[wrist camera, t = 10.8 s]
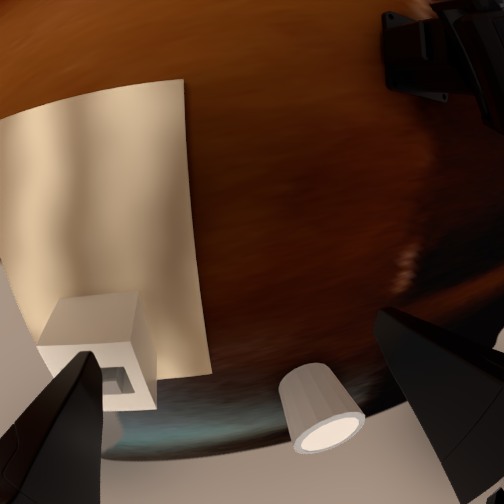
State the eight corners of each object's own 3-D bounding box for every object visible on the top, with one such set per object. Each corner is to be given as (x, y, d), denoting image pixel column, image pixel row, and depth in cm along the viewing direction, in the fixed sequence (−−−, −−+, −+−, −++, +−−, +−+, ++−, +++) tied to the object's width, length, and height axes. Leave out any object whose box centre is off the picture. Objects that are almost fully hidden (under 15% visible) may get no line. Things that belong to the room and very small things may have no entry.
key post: (125, 322, 19) (116, 381, 14) (129, 335, 20) (122, 394, 15) (87, 325, 19) (70, 381, 14) (92, 338, 19) (78, 394, 14)
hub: (139, 290, 19) (130, 343, 14) (157, 357, 21) (156, 411, 17) (59, 298, 17) (34, 348, 13) (86, 361, 20) (74, 412, 15)
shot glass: (304, 407, 30) (326, 456, 24) (258, 394, 28) (277, 452, 21) (348, 368, 29) (379, 416, 23) (305, 349, 26) (336, 407, 20)
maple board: (183, 82, 15) (183, 79, 14) (209, 361, 24) (212, 373, 23) (-13, 128, 13) (-25, 130, 11) (61, 370, 22) (57, 382, 20)
